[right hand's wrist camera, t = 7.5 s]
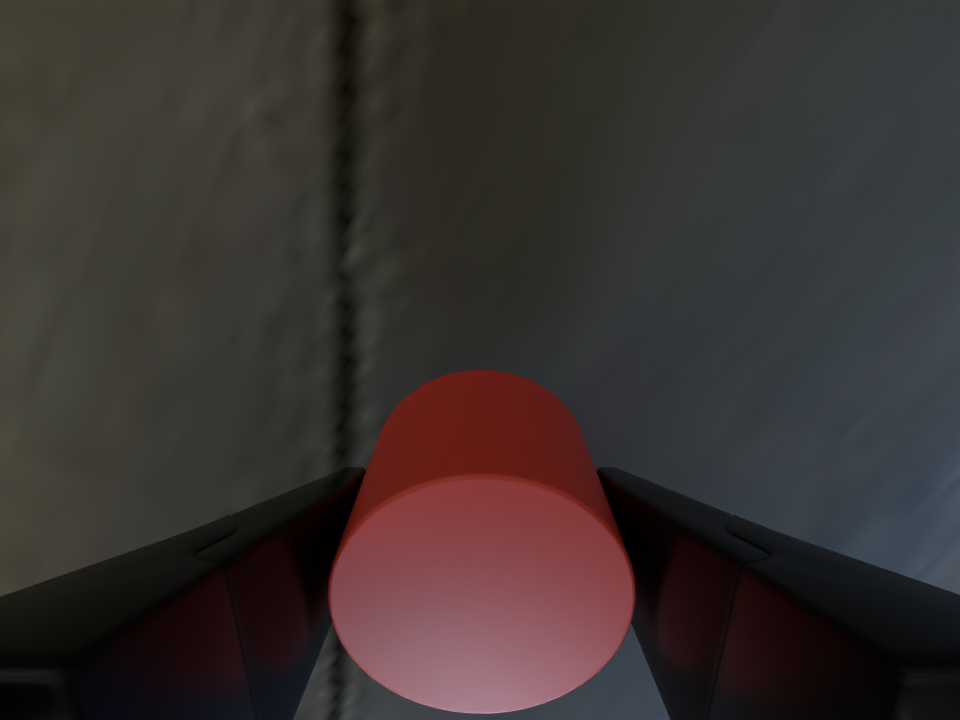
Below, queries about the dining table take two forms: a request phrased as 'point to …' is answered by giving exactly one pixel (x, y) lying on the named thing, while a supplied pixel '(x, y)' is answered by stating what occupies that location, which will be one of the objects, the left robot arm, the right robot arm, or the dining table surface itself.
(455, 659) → the canister
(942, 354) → the dining table surface
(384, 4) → the dining table surface
